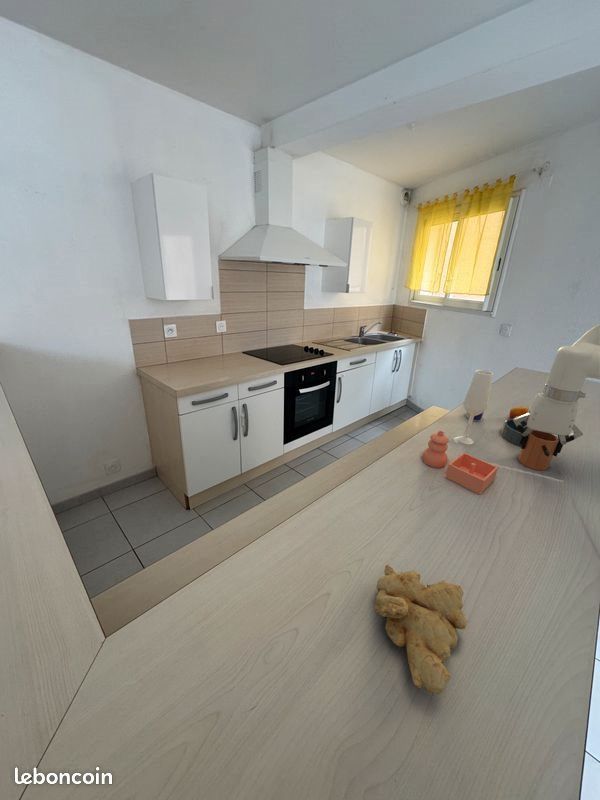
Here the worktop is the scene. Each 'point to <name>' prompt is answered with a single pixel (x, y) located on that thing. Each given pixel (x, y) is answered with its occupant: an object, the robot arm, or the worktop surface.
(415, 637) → the ginger root
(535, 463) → the cup
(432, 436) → the pottery
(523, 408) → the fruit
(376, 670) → the worktop surface
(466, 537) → the worktop surface
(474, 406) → the champagne flute
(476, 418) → the energy drink
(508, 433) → the shallow round gray bowl
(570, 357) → the robot arm
